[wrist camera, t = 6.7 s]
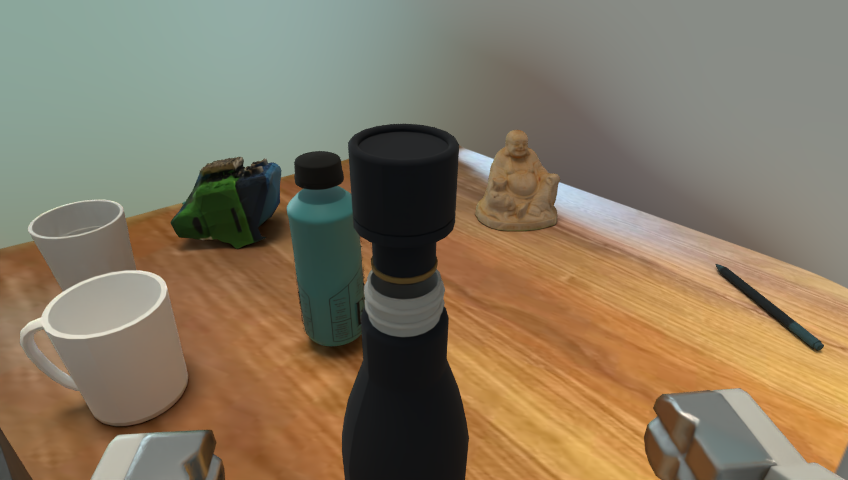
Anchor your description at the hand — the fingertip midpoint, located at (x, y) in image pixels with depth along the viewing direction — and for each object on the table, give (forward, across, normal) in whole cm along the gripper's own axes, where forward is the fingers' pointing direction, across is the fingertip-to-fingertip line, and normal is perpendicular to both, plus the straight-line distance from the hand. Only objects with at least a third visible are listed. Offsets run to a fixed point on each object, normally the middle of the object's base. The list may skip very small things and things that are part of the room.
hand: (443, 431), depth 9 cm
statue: (+60, -20, +28) cm, 69 cm away
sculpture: (+58, +21, +28) cm, 68 cm away
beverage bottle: (+35, +6, +28) cm, 45 cm away
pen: (+36, -43, +28) cm, 63 cm away
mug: (+29, +24, +28) cm, 47 cm away
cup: (+41, +30, +28) cm, 58 cm away
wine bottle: (+11, 0, +28) cm, 30 cm away
